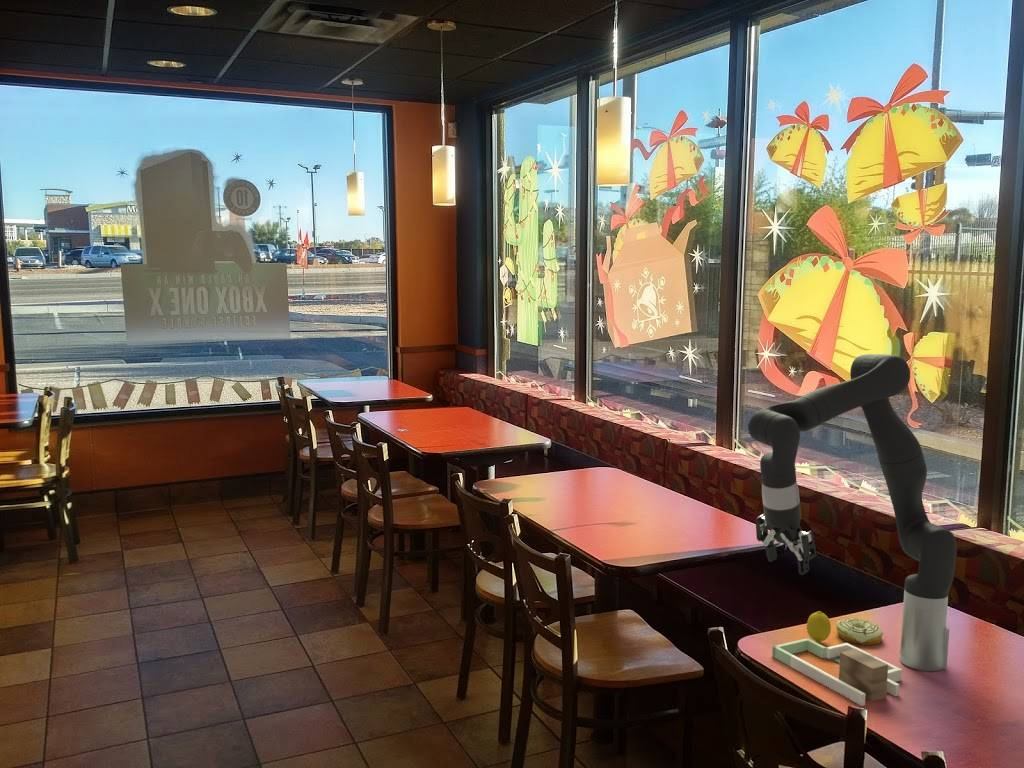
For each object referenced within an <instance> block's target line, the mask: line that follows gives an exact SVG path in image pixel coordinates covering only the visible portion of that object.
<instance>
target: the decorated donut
mask: <svg viewBox="0 0 1024 768" xmlns="http://www.w3.org/2000/svg"><path fill="white" fill-rule="evenodd" d="M835 628H836V631H837V635H839V637H840V638H841V639H843V640H844V641H846V640H847V641H846V642H848V641H849V642H848V643H853V644H858V643H859V644H858V645H863V644H864V645H863V646H872V645H878V644H880V642H881V641H882V639H883V635H884V633H883V629H881V627H880V626H879V625H877V624H875V623H874V622H872V621H869V620H865V619H862V618H855V617H852V618H851V617H850V618H848V617H847V618H843V619H840V620H838V621H837V622H836V625H835Z"/></svg>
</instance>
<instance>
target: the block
mask: <svg viewBox="0 0 1024 768" xmlns="http://www.w3.org/2000/svg"><path fill="white" fill-rule="evenodd" d="M887 675H888V664H886V663H884V662H882V661H880V660H877V659H875V658H873V657H871V656H869V655H867V654H865V653H863V652H861V651H859V650H857V649H852V650H848V651H844V652H840V664H839V669H838V679H839V680H841V681H843V682H845V683H847V684H848V685H850V686H852V687H854V688H856V689H858V690H860V691H861V692H863V693H865V694H866V696H865V701H866V700H867V702H870V703H873V702H875V701H879V700H883V699H886V698H887V692H886V691H887Z"/></svg>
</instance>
